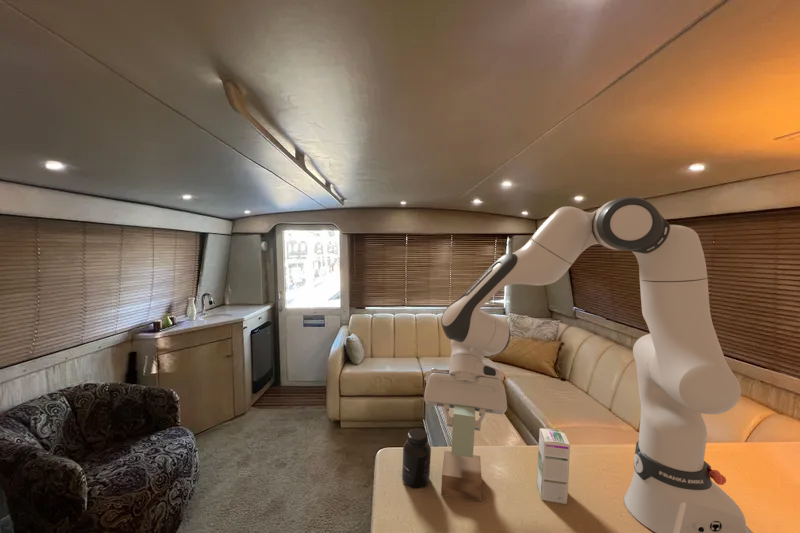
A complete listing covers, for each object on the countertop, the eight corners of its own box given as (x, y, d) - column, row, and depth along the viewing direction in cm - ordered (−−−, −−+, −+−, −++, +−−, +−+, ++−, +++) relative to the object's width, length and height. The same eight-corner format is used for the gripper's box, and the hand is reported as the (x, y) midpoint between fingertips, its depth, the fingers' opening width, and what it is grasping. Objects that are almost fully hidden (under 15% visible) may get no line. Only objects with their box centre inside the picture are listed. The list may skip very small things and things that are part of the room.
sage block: (472, 444, 82) (474, 406, 82) (472, 457, 77) (475, 416, 77) (452, 441, 83) (454, 403, 82) (451, 454, 78) (453, 413, 78)
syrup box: (567, 505, 76) (572, 444, 74) (540, 500, 77) (544, 440, 76) (560, 486, 81) (565, 430, 80) (535, 482, 82) (539, 426, 81)
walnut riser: (479, 474, 85) (480, 456, 84) (480, 501, 76) (481, 481, 75) (443, 468, 86) (444, 450, 86) (441, 494, 78) (441, 474, 77)
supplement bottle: (397, 484, 81) (398, 436, 80) (408, 466, 87) (410, 423, 86) (423, 494, 78) (425, 445, 77) (433, 475, 84) (435, 430, 83)
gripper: (425, 362, 88) (419, 417, 79) (506, 371, 84) (509, 430, 75) (427, 372, 92) (421, 425, 84) (503, 381, 88) (505, 437, 80)
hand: (463, 427), depth 79 cm, fingers closed on sage block, 5 cm apart
